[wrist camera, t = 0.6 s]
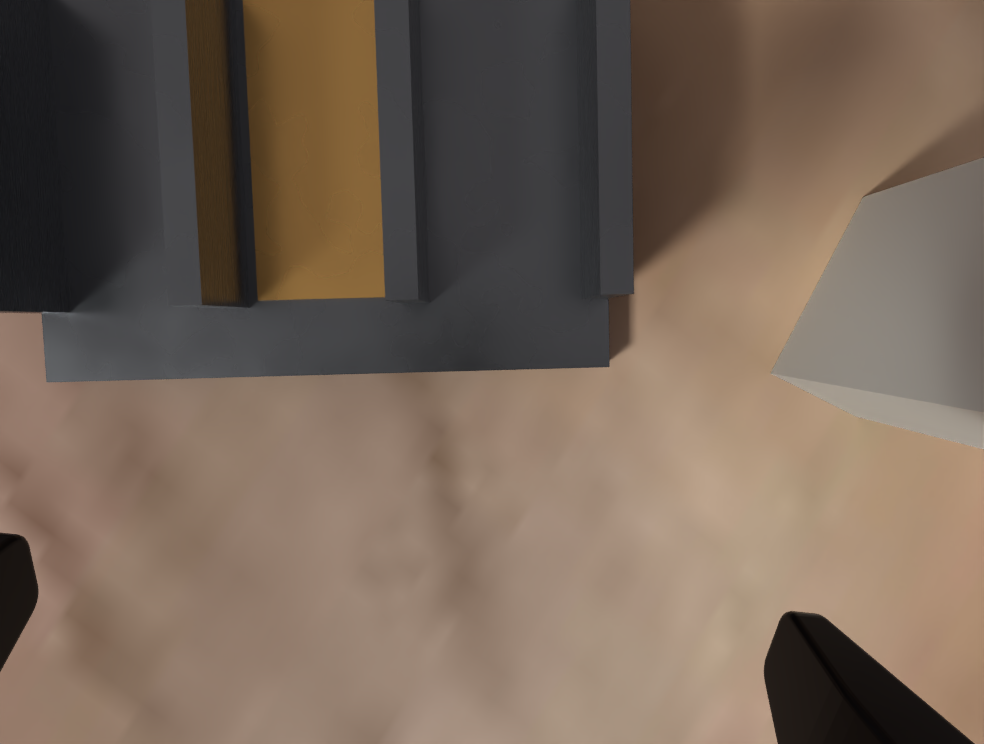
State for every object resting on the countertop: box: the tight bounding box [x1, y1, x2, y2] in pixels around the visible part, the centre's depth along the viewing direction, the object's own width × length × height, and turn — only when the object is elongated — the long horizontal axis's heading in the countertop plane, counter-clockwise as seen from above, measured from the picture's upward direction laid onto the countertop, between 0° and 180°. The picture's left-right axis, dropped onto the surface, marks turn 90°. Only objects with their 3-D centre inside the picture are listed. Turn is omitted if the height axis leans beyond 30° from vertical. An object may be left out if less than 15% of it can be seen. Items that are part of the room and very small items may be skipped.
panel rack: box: [0, 0, 634, 382], centre depth 19 cm, size 13×16×4 cm
